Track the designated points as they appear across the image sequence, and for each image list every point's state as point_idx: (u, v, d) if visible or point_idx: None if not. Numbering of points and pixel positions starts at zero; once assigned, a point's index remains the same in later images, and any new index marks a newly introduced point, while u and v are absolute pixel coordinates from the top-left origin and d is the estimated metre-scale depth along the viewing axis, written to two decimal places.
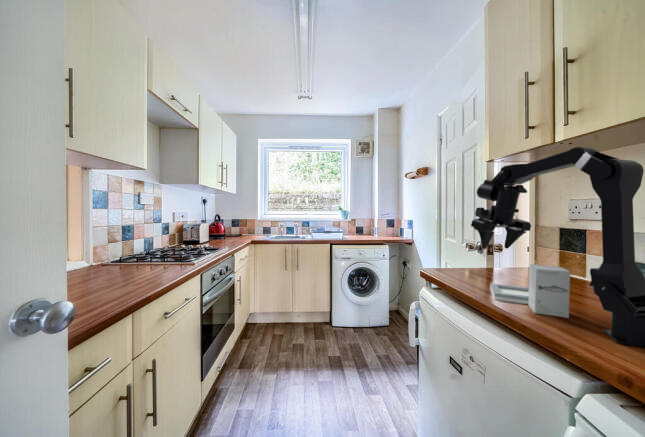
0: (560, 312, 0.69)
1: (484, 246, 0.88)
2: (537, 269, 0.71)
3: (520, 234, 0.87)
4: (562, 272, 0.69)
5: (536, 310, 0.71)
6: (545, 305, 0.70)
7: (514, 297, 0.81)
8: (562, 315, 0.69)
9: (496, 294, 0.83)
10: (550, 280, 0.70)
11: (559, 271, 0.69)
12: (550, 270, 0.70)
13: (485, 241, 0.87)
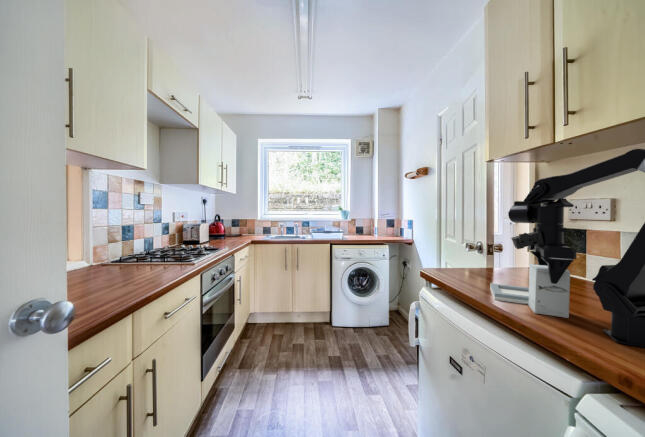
0: (560, 312, 0.69)
1: (557, 280, 0.68)
2: (537, 269, 0.71)
3: None
4: None
5: (536, 310, 0.71)
6: (545, 305, 0.70)
7: (514, 297, 0.81)
8: (562, 315, 0.69)
9: (496, 294, 0.83)
10: (550, 280, 0.70)
11: None
12: None
13: (560, 273, 0.67)
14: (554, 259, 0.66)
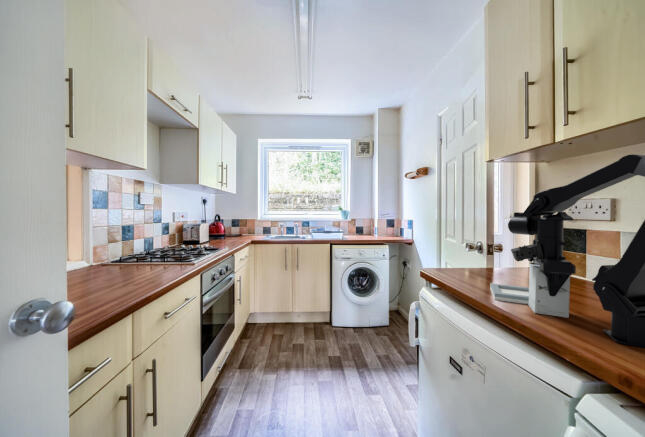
0: (560, 312, 0.69)
1: (555, 292, 0.69)
2: (537, 269, 0.71)
3: None
4: None
5: (536, 310, 0.71)
6: (545, 305, 0.70)
7: (514, 297, 0.81)
8: (562, 315, 0.69)
9: (496, 294, 0.83)
10: None
11: None
12: None
13: (558, 286, 0.68)
14: (552, 272, 0.67)
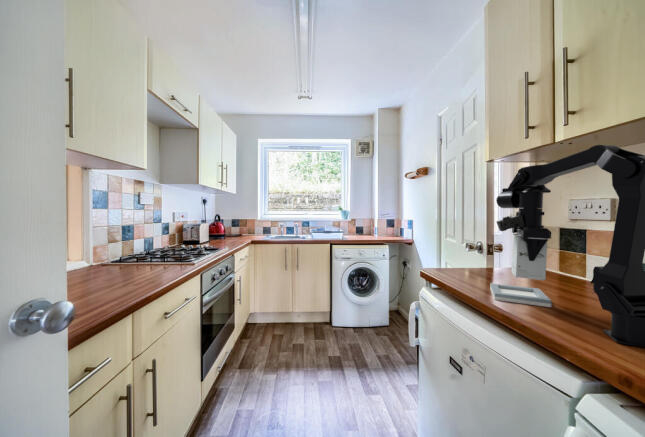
0: (538, 275, 0.77)
1: (534, 257, 0.77)
2: (518, 237, 0.79)
3: None
4: None
5: (517, 274, 0.79)
6: (525, 270, 0.78)
7: (514, 297, 0.81)
8: (540, 278, 0.77)
9: (496, 294, 0.83)
10: None
11: None
12: None
13: (537, 251, 0.76)
14: (531, 239, 0.74)
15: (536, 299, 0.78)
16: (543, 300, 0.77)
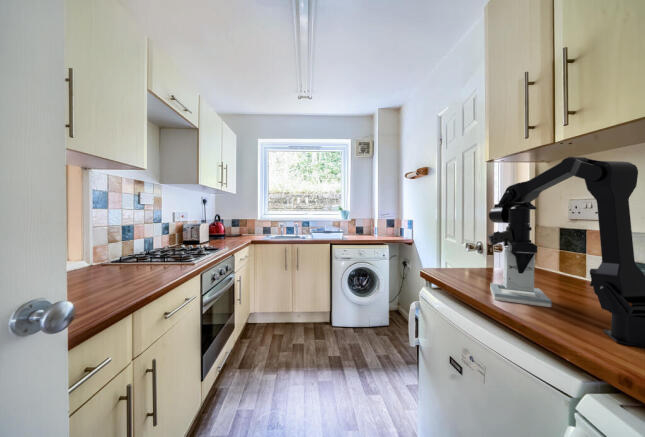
0: (526, 287, 0.82)
1: (523, 270, 0.82)
2: (508, 251, 0.84)
3: None
4: None
5: (507, 286, 0.84)
6: (515, 282, 0.83)
7: (514, 297, 0.81)
8: (528, 289, 0.82)
9: (496, 294, 0.83)
10: None
11: None
12: None
13: (525, 264, 0.81)
14: (519, 253, 0.80)
15: (536, 299, 0.78)
16: (543, 300, 0.77)
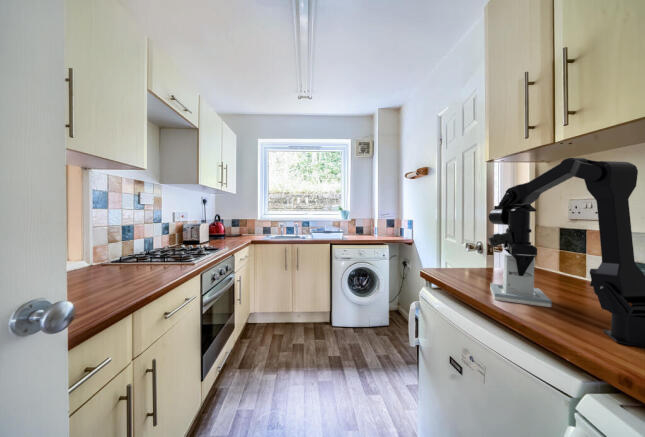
0: (526, 293, 0.82)
1: (523, 272, 0.81)
2: (508, 257, 0.84)
3: None
4: None
5: (507, 292, 0.84)
6: (514, 288, 0.83)
7: (514, 297, 0.81)
8: None
9: (496, 294, 0.83)
10: None
11: None
12: None
13: (525, 267, 0.80)
14: (520, 255, 0.79)
15: (536, 299, 0.78)
16: (543, 300, 0.77)
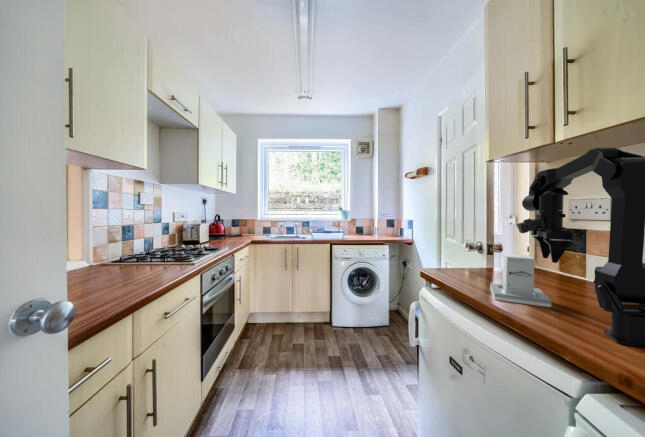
0: (526, 293, 0.82)
1: (557, 259, 0.77)
2: (508, 257, 0.84)
3: None
4: (528, 259, 0.82)
5: (507, 292, 0.84)
6: (514, 288, 0.83)
7: (514, 297, 0.81)
8: None
9: (496, 294, 0.83)
10: (518, 266, 0.83)
11: (525, 259, 0.82)
12: (518, 258, 0.83)
13: (560, 253, 0.76)
14: (555, 240, 0.75)
15: (536, 299, 0.78)
16: (543, 300, 0.77)
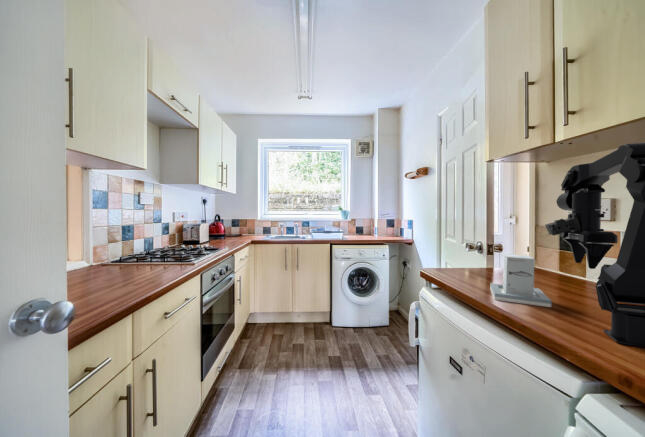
0: (526, 293, 0.82)
1: (595, 265, 0.68)
2: (508, 257, 0.84)
3: None
4: (528, 259, 0.82)
5: (507, 292, 0.84)
6: (514, 288, 0.83)
7: (514, 297, 0.81)
8: None
9: (496, 294, 0.83)
10: (518, 266, 0.83)
11: (525, 259, 0.82)
12: (518, 258, 0.83)
13: (599, 258, 0.68)
14: (594, 244, 0.66)
15: (536, 299, 0.78)
16: (543, 300, 0.77)
